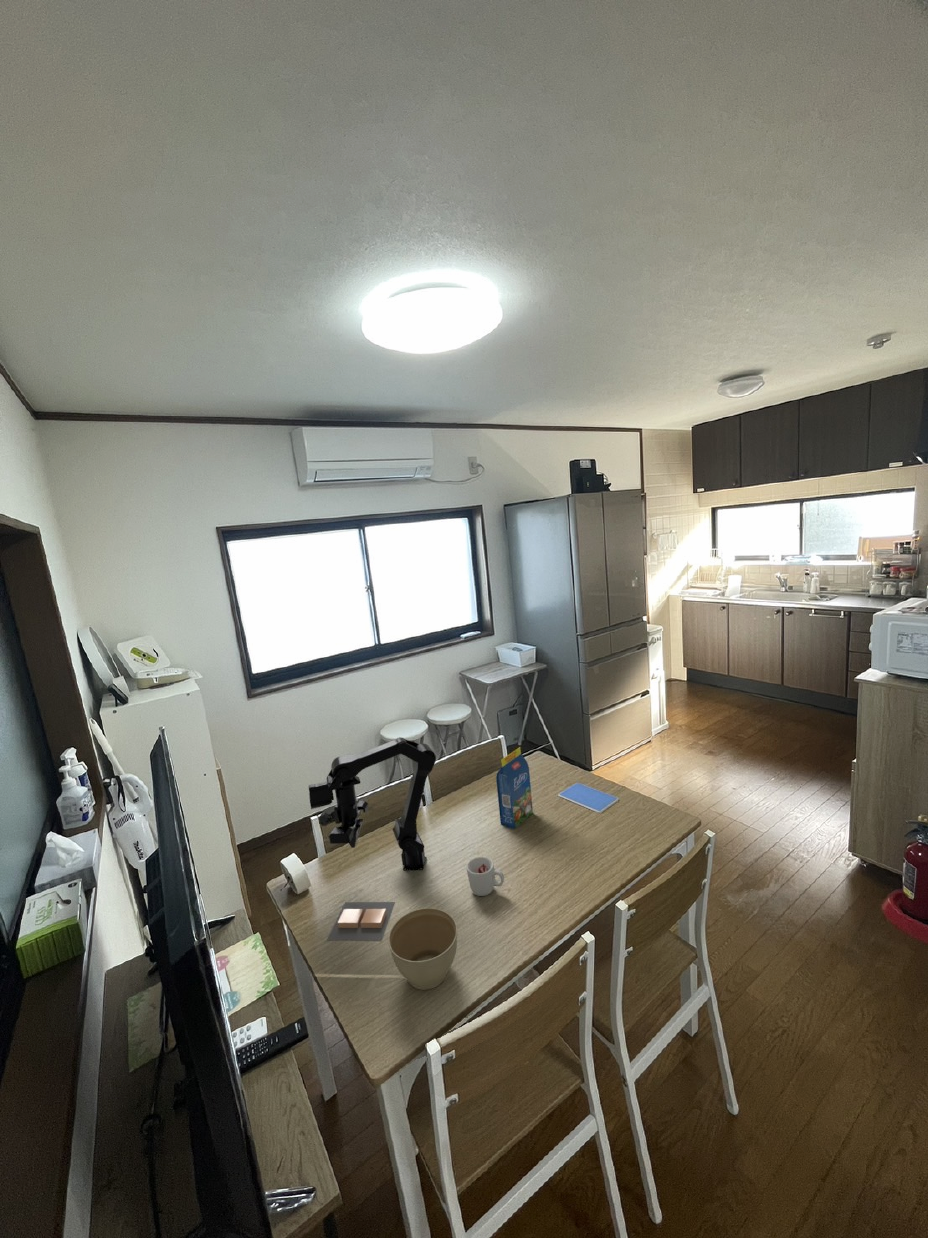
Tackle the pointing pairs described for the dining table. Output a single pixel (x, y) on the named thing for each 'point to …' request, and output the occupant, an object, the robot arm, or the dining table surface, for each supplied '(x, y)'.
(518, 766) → the blue food package
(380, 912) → the tile
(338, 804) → the robot arm
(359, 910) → the tile
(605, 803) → the tablet computer
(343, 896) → the dining table surface
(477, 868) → the cup
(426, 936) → the planter bowl
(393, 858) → the dining table surface
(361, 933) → the mat
